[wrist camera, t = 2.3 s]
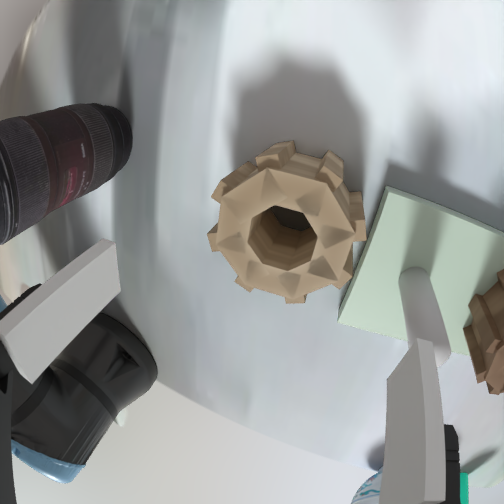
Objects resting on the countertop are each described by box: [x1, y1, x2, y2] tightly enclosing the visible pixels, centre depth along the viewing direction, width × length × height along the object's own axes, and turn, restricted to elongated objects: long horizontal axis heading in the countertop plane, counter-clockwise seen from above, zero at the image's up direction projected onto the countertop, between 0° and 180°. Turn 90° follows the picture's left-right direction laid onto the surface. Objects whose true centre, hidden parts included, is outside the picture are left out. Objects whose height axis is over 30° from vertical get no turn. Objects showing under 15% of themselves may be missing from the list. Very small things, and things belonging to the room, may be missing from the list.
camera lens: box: [0, 103, 132, 245], centre depth 19 cm, size 8×8×15 cm
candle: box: [460, 473, 468, 504], centre depth 33 cm, size 6×6×12 cm
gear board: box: [337, 186, 504, 368], centre depth 18 cm, size 21×12×10 cm, turn 80°
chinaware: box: [351, 467, 383, 504], centre depth 36 cm, size 15×15×8 cm
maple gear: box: [207, 141, 367, 304], centre depth 21 cm, size 10×10×6 cm
